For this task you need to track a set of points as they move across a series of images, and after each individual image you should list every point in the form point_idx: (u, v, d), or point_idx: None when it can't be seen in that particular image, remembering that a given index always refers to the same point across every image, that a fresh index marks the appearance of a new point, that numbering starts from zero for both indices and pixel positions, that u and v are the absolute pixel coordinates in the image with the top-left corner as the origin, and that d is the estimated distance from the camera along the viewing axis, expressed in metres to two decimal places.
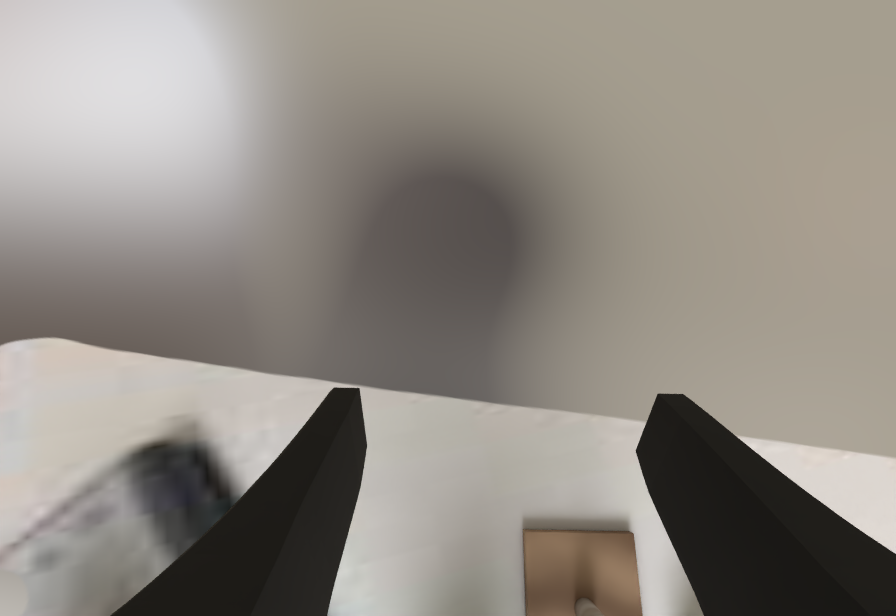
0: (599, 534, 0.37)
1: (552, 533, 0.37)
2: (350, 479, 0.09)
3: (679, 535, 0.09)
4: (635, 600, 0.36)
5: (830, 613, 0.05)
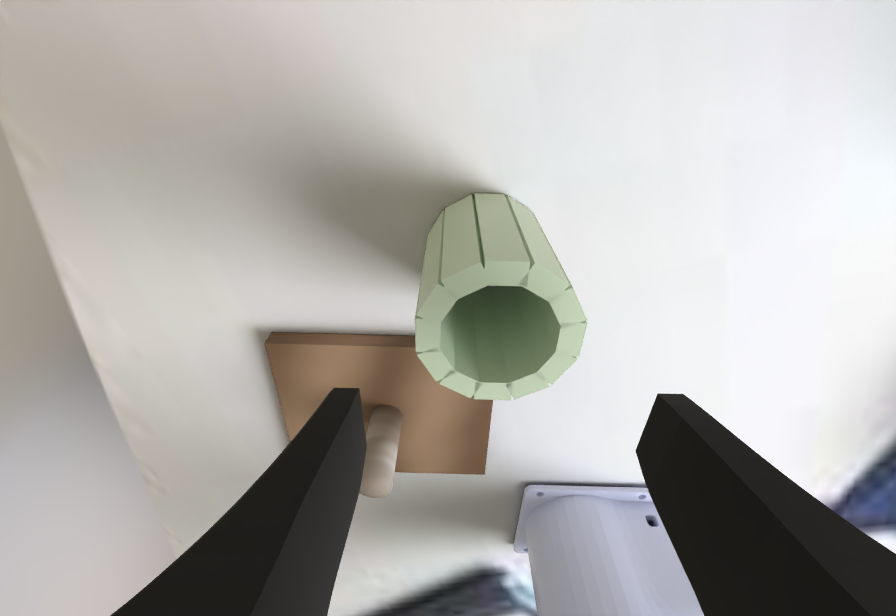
0: (279, 387, 0.22)
1: None
2: (350, 479, 0.09)
3: (679, 535, 0.09)
4: (367, 353, 0.21)
5: (830, 613, 0.05)
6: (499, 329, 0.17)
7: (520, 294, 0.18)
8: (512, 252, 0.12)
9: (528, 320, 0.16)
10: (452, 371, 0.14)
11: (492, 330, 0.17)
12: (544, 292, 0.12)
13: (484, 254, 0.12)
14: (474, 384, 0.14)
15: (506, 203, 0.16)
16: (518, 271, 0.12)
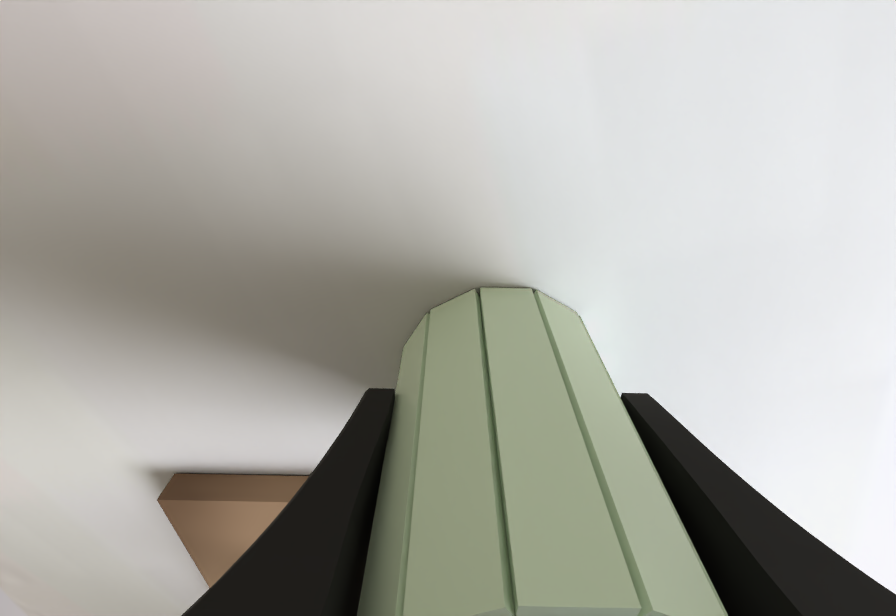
0: None
1: None
2: None
3: None
4: None
5: (767, 612, 0.05)
6: None
7: None
8: (583, 544, 0.05)
9: None
10: None
11: None
12: None
13: (513, 557, 0.05)
14: None
15: (539, 318, 0.09)
16: None
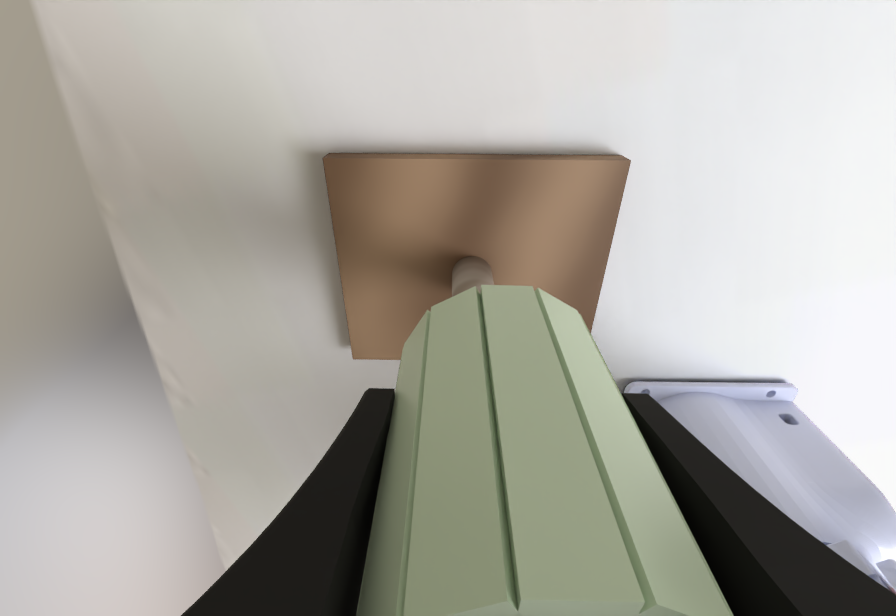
0: (337, 232, 0.17)
1: (349, 316, 0.20)
2: None
3: None
4: (457, 171, 0.16)
5: (768, 612, 0.05)
6: None
7: None
8: (586, 538, 0.05)
9: None
10: None
11: None
12: None
13: (515, 551, 0.05)
14: None
15: (540, 315, 0.09)
16: (608, 612, 0.04)
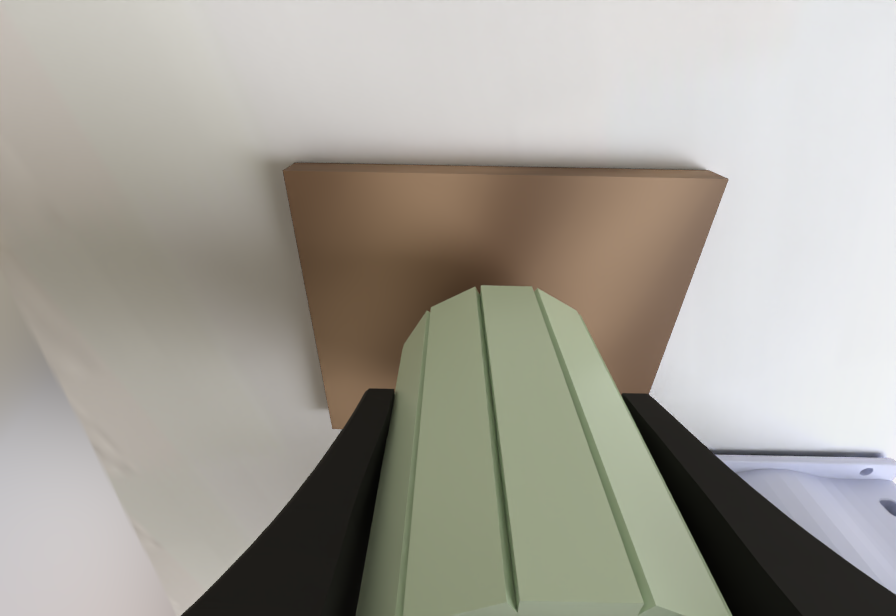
0: (308, 272, 0.13)
1: (327, 378, 0.15)
2: None
3: None
4: (476, 191, 0.11)
5: (768, 612, 0.05)
6: None
7: None
8: (585, 539, 0.05)
9: None
10: None
11: None
12: None
13: (515, 552, 0.05)
14: None
15: (539, 315, 0.09)
16: (607, 613, 0.04)
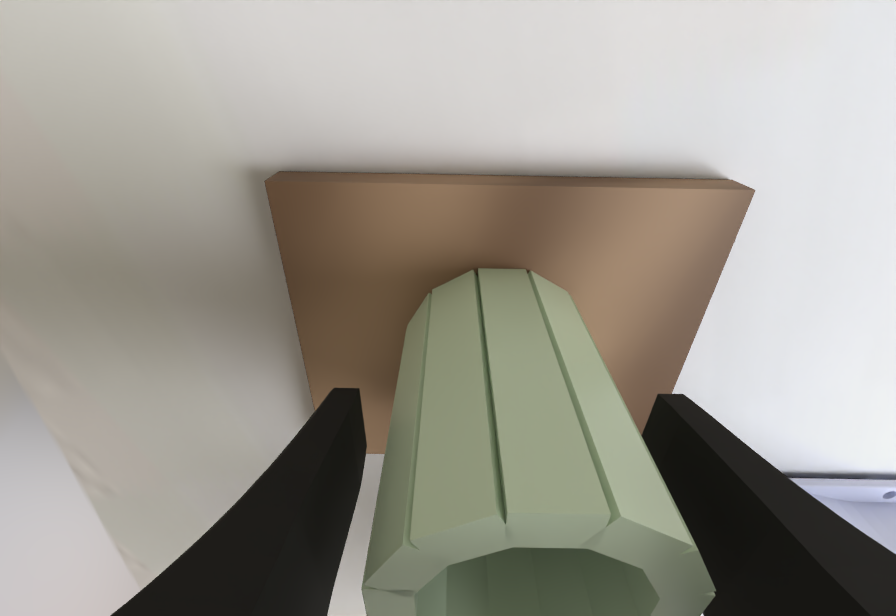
0: (294, 290, 0.12)
1: None
2: (350, 479, 0.09)
3: None
4: (478, 203, 0.10)
5: (830, 613, 0.05)
6: None
7: None
8: (564, 469, 0.06)
9: None
10: None
11: None
12: (635, 557, 0.06)
13: (504, 479, 0.06)
14: None
15: (531, 294, 0.10)
16: (581, 526, 0.05)
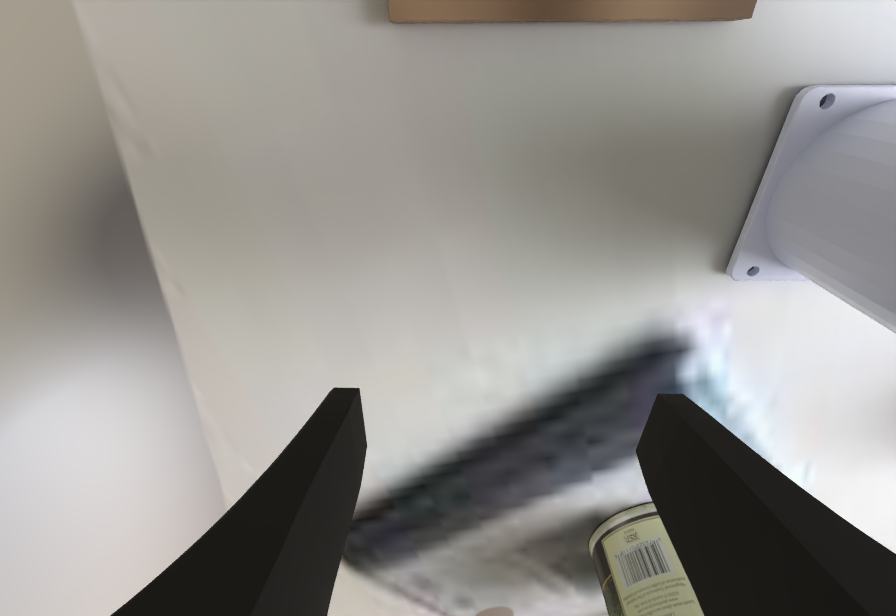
0: None
1: None
2: (350, 479, 0.09)
3: (679, 535, 0.09)
4: None
5: (830, 613, 0.05)
6: None
7: None
8: None
9: None
10: None
11: None
12: None
13: None
14: None
15: None
16: None
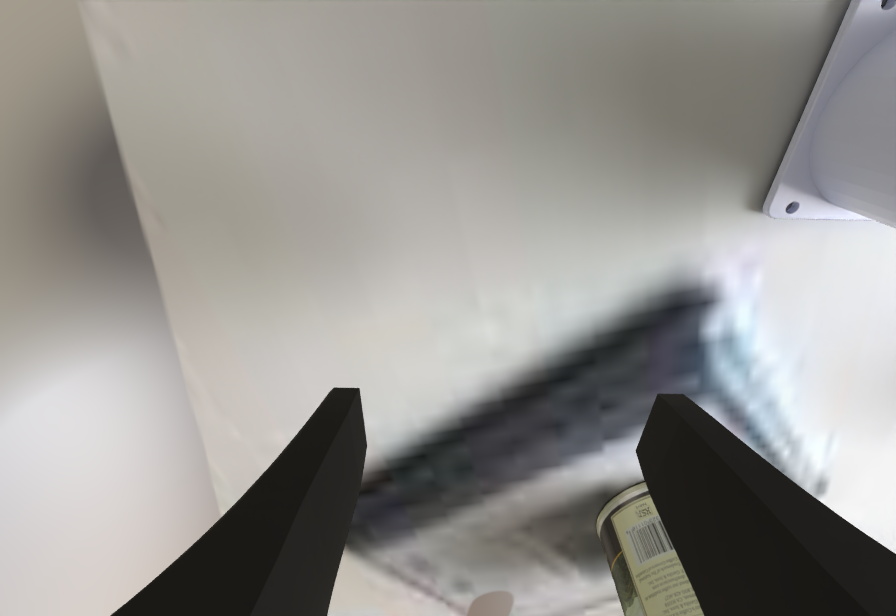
0: None
1: None
2: (350, 479, 0.09)
3: (679, 535, 0.09)
4: None
5: (830, 613, 0.05)
6: None
7: None
8: None
9: None
10: None
11: None
12: None
13: None
14: None
15: None
16: None
